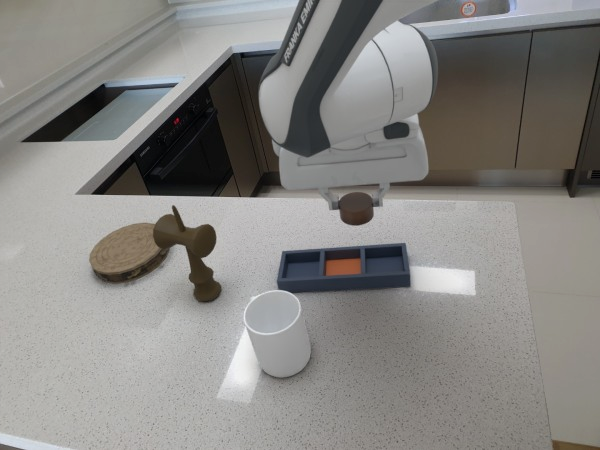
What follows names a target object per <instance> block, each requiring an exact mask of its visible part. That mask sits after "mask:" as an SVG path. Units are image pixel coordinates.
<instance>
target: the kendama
mask: <svg viewBox="0 0 600 450" xmlns="http://www.w3.org/2000/svg"><path fill="white" fill-rule="evenodd" d="M171 210H172V213H166V214H164V215H162V216H161V217H159V219H158V220H157V221H156V222H155V223H154V224H155V226H154V228H153V238H154V242H155V243H156V245H157V246H158V247H159V248H161V249H168V248H169V249H170V248H172V247H174V246H176V245H179V246H183V247H185V251H186V254H187V258H188V263H189V268H190V272H189V274H188V281H189V282H190V283H191V284H193V286H194V289H193V294H192V295H193V297H194V298H195V299H196V300H197V301H201V302H210V301H211V300H214V299H215V298H217V296H219V295H220V293H221V291H222V285H221V283H220V282H219V281H217V280H215V279H214V272H215V271H214V270H213V268H211V267H209V266H207V264H206V263H205V262H204V261H203V259H204V258H207V257H208V256H209V255H211V253H212V252H213V251H214V249H215V247H216V245H217V231H216V230H215V228H214V226H212V225H211V224H209V223H205V224H204V223H203V224H201V225H198V226H196V227H189V226H185V224H184V221H183V219H182V216H181V214H180V213H179V210H178V208H177V206H176V205H174V204H172V206H171Z"/></svg>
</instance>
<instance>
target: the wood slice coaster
mask: <svg viewBox="0 0 600 450" xmlns="http://www.w3.org/2000/svg"><path fill="white" fill-rule="evenodd" d="M155 224H156V223H152V222H139V223H137V222H136V223H132V224H128V225H125V226H122V227H119V228H117V229H115V230H113V231H112V232H109V233H108V234H107V235H105V236H104V237H102V238H101V239H100V240H99V241H98V242H97V243H96V244H95V245H94V246H93V248H92V250H91V251H90V253H89V259H88V262H89V263H90V267H91V268H92V270H93V272H94V273H95V275H96V277H97V278H98V279H99V280H101V281H102V282H104V283H109V284H125V283H129V282H132V281H135V280H138V279H140V278H142V277H144V276H146V275H148V274H150V273H151V272H153V271H154V270H156V269H157V268H158V267H160V265H162V263H163V262H164V261H165V259H166V258H167V257H168V254H169V252H170V248H168V249H161V248H159V247H158V246H157V245H156V243H155V242H154V238H153V228H154V226H155Z"/></svg>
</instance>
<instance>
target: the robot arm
mask: <svg viewBox="0 0 600 450" xmlns="http://www.w3.org/2000/svg"><path fill="white" fill-rule="evenodd" d="M439 1H440V0H298V3H297V4H296V7H295V10H294V12H293V15H292V17H291V20H290V22H289V24H288V28H287V30H286V32H285V35H284V37H283V40H282V42H281V44H280V47H279V48H278V50H277V52H276V53H275V54H274V55H273V56H272V57H271V58H270V60H269V61H268V63H267V64H266V67H265V69H264V70H263V72H262V75H261V77H260V80H259V83H258V91H257V97H258V105H259V106H258V107H259V111H260V114H261V115H260V116H261V118H262V121H263V124H264V127H265V129H266V131H267V134H268V135H269V136H270V139H271V144H272V145H271V146H272V148H273V152H274V153H275V155H276V156H277V157H278V169H279V170H278V171H279V179H280V184H281V187H283V188H284V189H285V190H286V191H289V192H291V191H292V192H293V191H304V190H318V194H319V195H320V196H321V197H322V199H324V200H325V201H326V202H327V205H328V210H329V211H339V200H340V197H339V194H338V193H336V194H334V193H332V191H331V190H330V188H341V187H342V188H343V187H355V186H364V185H365V186H366V185H377V184H378V185H379V186H378V189H377V190H373V191H371V197H372V202H373V208H382V207H383V206H384V204H383V201H384V200H383V198H384V197H385V196H386V195H387V192H389V190H390V188H391V183H402V182H415V181H417V182H418V181H423V180H424V179H425V178H426V177H427V176H428V175H429V157H428V151H427V147H426V141H425V137H424V135H423V131H422V129H421V128H422V127H421V125H420V119H419V113H421V112H424V111H425V110H426V109H427V108H428V107H429V105H430V104H431V103H432V100H433V98H434V96H435V93H436V90H437V85H438V78H439V63H438V56H437V55H438V54H437V51H436V49H435V46H434V44H433V42H432V40H431V39H429V37H428V36H427V35H426V34H425V33H424V32H423V31H421V30H420V29H419V28H417V27H416V26H414V25H412V24H410V23H402V22H401V21H399V20H401V19H404V18H405V17H407V16H408V15H411V14H413V13H415V12H417V11H419V10H421V9H422V8H425V7H427V6H429V5H432V4H434V3H436V2H439Z"/></svg>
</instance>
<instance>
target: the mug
mask: <svg viewBox="0 0 600 450" xmlns="http://www.w3.org/2000/svg"><path fill="white" fill-rule="evenodd" d="M242 319H243V323H244V326H245V329H246V331H247V335H248V336H249V337H248V338H249V340H250V342H251V345H252V348H253V351H254V354H255V357H256V359H257V362H258V365H259V366H260V368H261V370H263V371H264V372H265V373H266V374H267V375H270V376H271V377H275V378H288V377H292V376H294V375H296V374H298V373H300V372H301V371H302V370H303V369H305V367H307V365H308V363H309V361H310V360H311V359H310V358H311V355H312V354H311V353H312V349H311V348H312V347H311V343H310V338H309V333H308V330H307V326H306V321H305V317H304V313H303V309H302V304H301V303H300V300H299V298H298V297H297V295H294V293H290V292H287V291H283V290H279V289H274V290H268V291H264V292H263V293H260V294H258V295H253V296H251V297H250V298H249V300H248V303H247V305H246V306H245V309H244V312H243V317H242Z"/></svg>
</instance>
